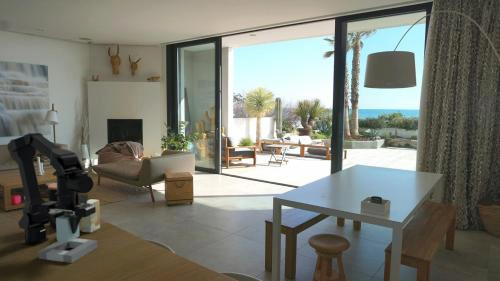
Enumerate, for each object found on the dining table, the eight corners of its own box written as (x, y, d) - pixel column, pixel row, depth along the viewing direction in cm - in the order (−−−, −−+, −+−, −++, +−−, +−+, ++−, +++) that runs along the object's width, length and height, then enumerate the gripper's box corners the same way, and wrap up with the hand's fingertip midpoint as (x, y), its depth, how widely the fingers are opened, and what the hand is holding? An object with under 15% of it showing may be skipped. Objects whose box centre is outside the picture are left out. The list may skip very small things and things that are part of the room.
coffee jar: (56, 221, 153) (54, 181, 151) (81, 221, 155) (80, 181, 153) (45, 230, 143) (42, 187, 141) (72, 230, 144) (70, 187, 142)
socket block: (38, 258, 118) (38, 251, 118) (66, 243, 130) (66, 237, 130) (71, 263, 115) (71, 255, 115) (97, 247, 128) (97, 240, 127)
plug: (56, 240, 120) (55, 213, 119) (68, 234, 125) (67, 209, 124) (68, 242, 119) (67, 215, 118) (79, 236, 124) (78, 210, 123)
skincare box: (91, 233, 141) (90, 203, 140) (81, 232, 142) (80, 202, 141) (100, 227, 147) (100, 199, 146) (91, 226, 148) (90, 198, 147)
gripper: (105, 185, 126) (106, 227, 128) (60, 182, 130) (62, 222, 132) (83, 193, 115) (85, 238, 117) (36, 189, 119) (38, 233, 121)
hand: (68, 232), depth 122 cm, fingers closed on plug, 4 cm apart
